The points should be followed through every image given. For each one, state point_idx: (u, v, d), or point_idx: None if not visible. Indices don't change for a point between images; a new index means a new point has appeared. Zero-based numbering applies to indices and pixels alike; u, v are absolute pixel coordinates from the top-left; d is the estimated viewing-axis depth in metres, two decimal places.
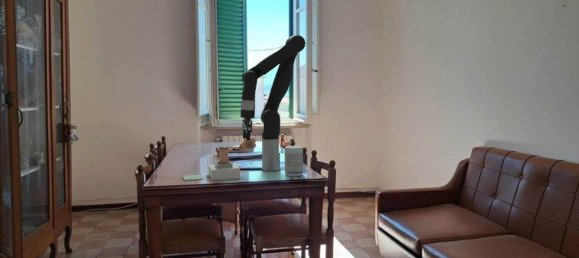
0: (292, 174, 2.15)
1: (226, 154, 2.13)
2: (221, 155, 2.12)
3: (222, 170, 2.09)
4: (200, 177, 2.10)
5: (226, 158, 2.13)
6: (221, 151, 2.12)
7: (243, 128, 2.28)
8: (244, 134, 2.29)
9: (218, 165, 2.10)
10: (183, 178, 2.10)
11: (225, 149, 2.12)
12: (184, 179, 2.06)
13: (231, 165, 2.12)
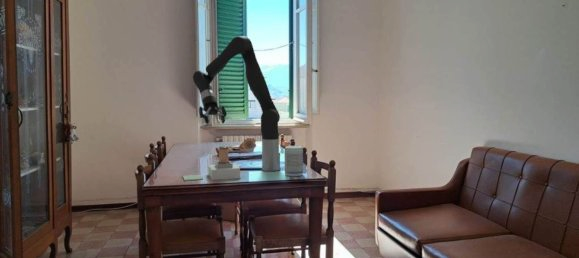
0: (292, 174, 2.15)
1: (226, 154, 2.13)
2: (221, 155, 2.12)
3: (222, 170, 2.09)
4: (200, 177, 2.10)
5: (226, 158, 2.13)
6: (221, 151, 2.12)
7: None
8: (221, 119, 2.26)
9: (218, 165, 2.10)
10: (183, 178, 2.10)
11: (225, 149, 2.12)
12: (184, 179, 2.06)
13: (231, 165, 2.12)
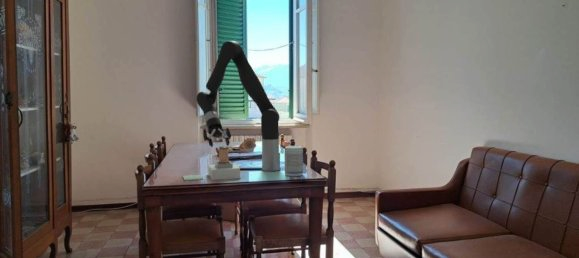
0: (292, 174, 2.15)
1: (226, 154, 2.13)
2: (221, 155, 2.12)
3: (222, 170, 2.09)
4: (200, 177, 2.10)
5: (226, 158, 2.13)
6: (221, 151, 2.12)
7: None
8: (226, 141, 2.22)
9: (218, 165, 2.10)
10: (183, 178, 2.10)
11: (225, 149, 2.12)
12: (184, 179, 2.06)
13: (231, 165, 2.12)
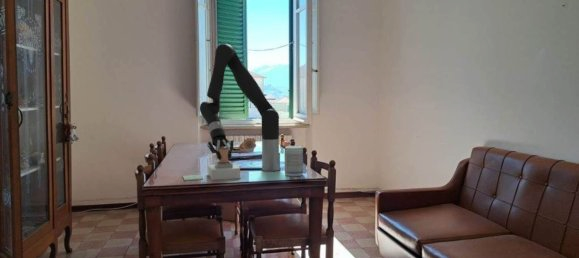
0: (292, 174, 2.15)
1: (226, 154, 2.13)
2: (221, 155, 2.12)
3: (222, 170, 2.09)
4: (200, 177, 2.10)
5: (226, 158, 2.13)
6: (221, 151, 2.12)
7: None
8: (228, 154, 2.15)
9: (218, 165, 2.10)
10: (183, 178, 2.10)
11: (225, 149, 2.12)
12: (184, 179, 2.06)
13: (231, 165, 2.12)
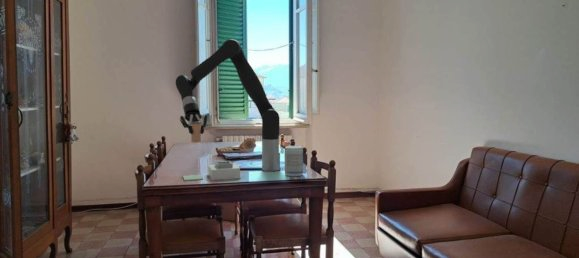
0: (292, 174, 2.15)
1: (198, 129, 2.08)
2: (193, 130, 2.07)
3: (222, 170, 2.09)
4: (200, 177, 2.10)
5: (198, 133, 2.08)
6: (193, 125, 2.07)
7: None
8: None
9: (218, 165, 2.10)
10: (183, 178, 2.10)
11: (197, 124, 2.07)
12: (184, 179, 2.06)
13: (231, 165, 2.12)
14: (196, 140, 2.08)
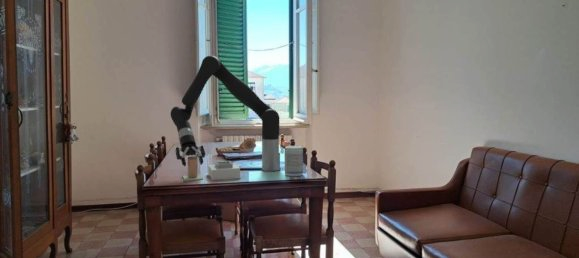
0: (292, 174, 2.15)
1: (195, 164, 2.09)
2: (190, 165, 2.08)
3: (222, 170, 2.09)
4: (200, 177, 2.10)
5: (195, 169, 2.09)
6: (190, 161, 2.08)
7: (196, 156, 2.14)
8: (199, 160, 2.12)
9: (218, 165, 2.10)
10: (183, 178, 2.10)
11: (194, 159, 2.08)
12: (184, 179, 2.06)
13: (231, 165, 2.12)
14: (193, 175, 2.09)
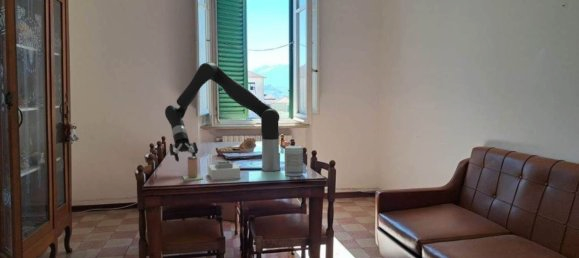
0: (292, 174, 2.15)
1: (195, 164, 2.09)
2: (189, 165, 2.08)
3: (222, 170, 2.09)
4: (200, 177, 2.10)
5: (195, 169, 2.09)
6: (189, 161, 2.08)
7: (189, 152, 2.25)
8: None
9: (218, 165, 2.10)
10: (183, 178, 2.10)
11: (194, 159, 2.08)
12: (184, 179, 2.06)
13: (231, 165, 2.12)
14: (193, 176, 2.09)
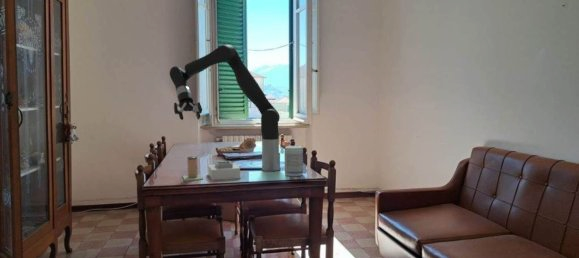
0: (292, 174, 2.15)
1: (195, 164, 2.09)
2: (189, 165, 2.08)
3: (222, 170, 2.09)
4: (200, 177, 2.10)
5: (194, 169, 2.09)
6: (189, 161, 2.08)
7: None
8: (197, 115, 2.24)
9: (218, 165, 2.10)
10: (183, 178, 2.10)
11: (193, 159, 2.08)
12: (184, 179, 2.06)
13: (231, 165, 2.12)
14: (193, 176, 2.09)
